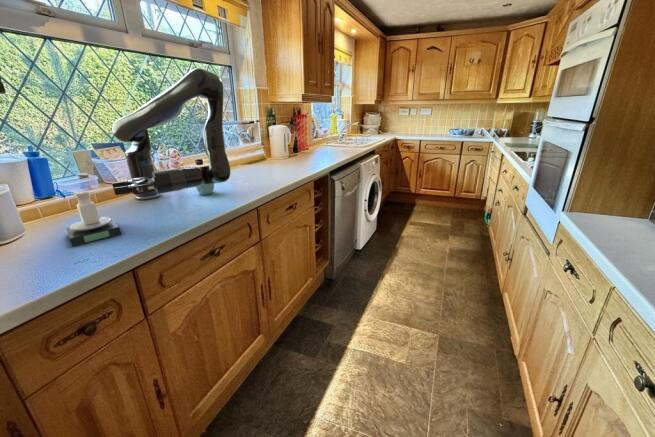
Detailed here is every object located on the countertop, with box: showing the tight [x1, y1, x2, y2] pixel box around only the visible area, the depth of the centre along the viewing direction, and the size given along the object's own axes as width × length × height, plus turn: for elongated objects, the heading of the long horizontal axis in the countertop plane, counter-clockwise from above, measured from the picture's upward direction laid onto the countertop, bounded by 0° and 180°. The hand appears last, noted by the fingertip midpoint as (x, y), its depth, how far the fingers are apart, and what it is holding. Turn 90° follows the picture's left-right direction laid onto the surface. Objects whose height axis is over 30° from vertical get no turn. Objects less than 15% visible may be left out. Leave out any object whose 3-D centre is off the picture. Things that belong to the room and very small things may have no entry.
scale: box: [65, 216, 122, 247], centre depth 93 cm, size 12×12×4 cm
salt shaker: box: [74, 190, 100, 225], centre depth 91 cm, size 4×4×10 cm
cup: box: [195, 184, 215, 196], centre depth 134 cm, size 8×8×10 cm
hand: (113, 189), depth 93 cm, fingers open, 8 cm apart
